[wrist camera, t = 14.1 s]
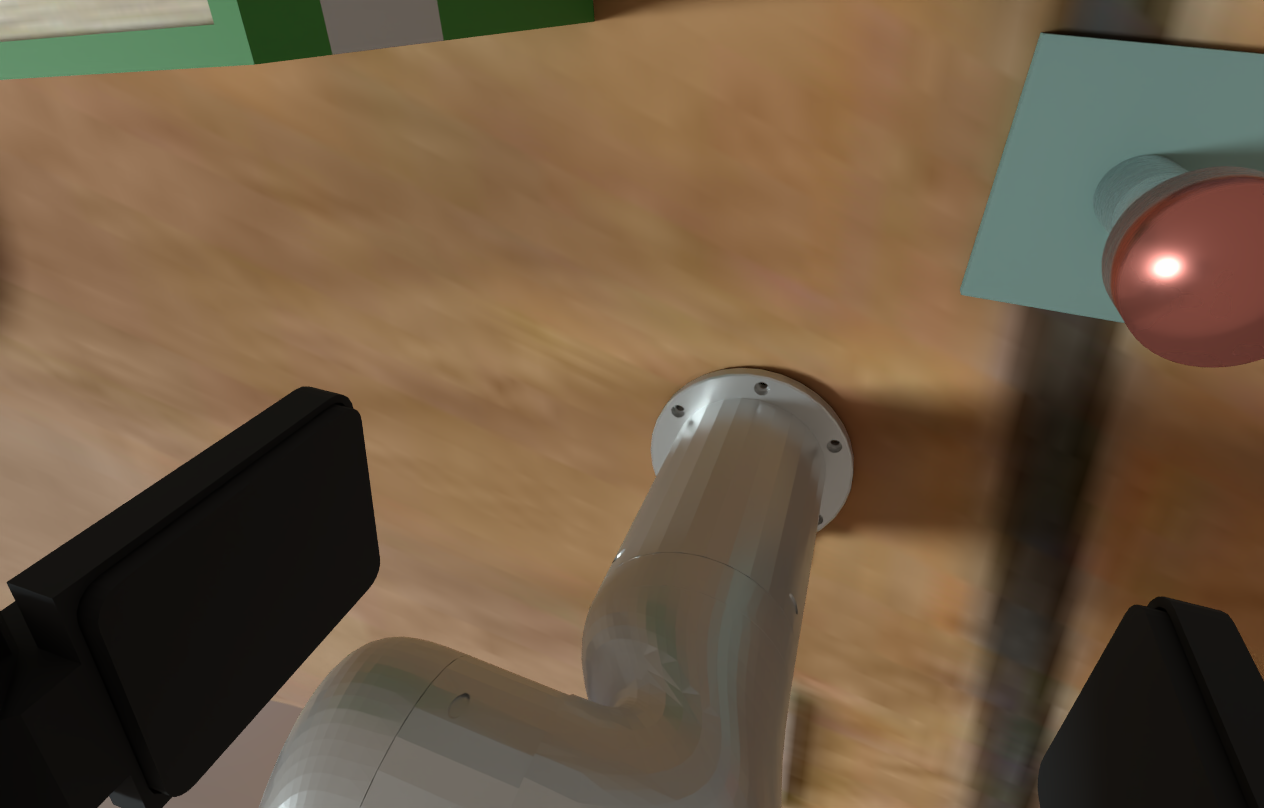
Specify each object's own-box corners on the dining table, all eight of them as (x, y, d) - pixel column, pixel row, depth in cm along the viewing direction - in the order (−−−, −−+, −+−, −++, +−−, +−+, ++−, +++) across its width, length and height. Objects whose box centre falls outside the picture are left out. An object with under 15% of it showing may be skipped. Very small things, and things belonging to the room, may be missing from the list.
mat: (1221, 334, 36) (1227, 340, 35) (959, 289, 39) (961, 294, 38) (1362, 62, 30) (1372, 64, 29) (1040, 32, 33) (1043, 33, 32)
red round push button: (1247, 135, 32) (1397, 201, 22) (1185, 270, 35) (1291, 383, 25) (1091, 117, 33) (1163, 172, 23) (1044, 249, 36) (1090, 347, 26)
